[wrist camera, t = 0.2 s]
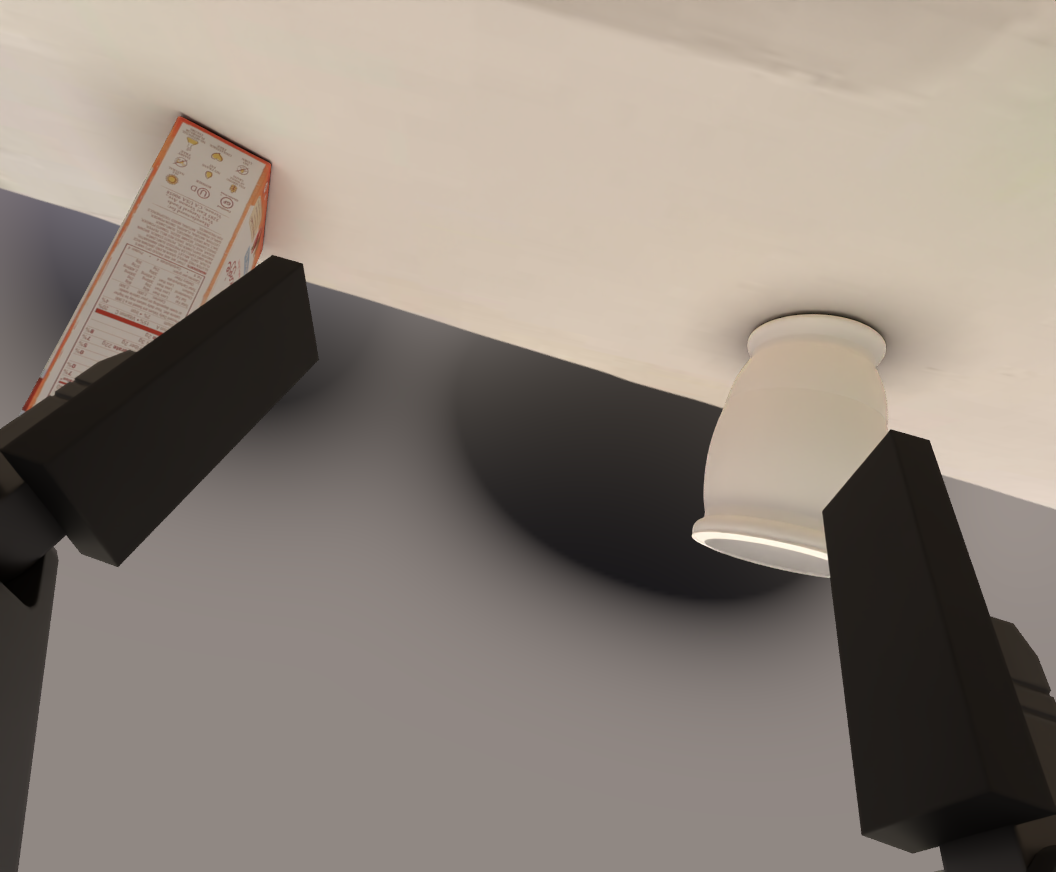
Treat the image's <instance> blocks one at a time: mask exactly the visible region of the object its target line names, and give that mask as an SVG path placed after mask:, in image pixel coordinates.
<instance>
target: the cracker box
mask: <svg viewBox="0 0 1056 872" xmlns="http://www.w3.org/2000/svg"><path fill="white" fill-rule="evenodd" d="M270 172H271V164H270V163H268V162H267V161H265V160H263V159H261V158H259V157H257V156H255V155H253V154H251V153H249V152H247V151H246V150H244V149H242V148H240V147H238V146H236V145H234V144H232V143H231V142H229V141H227V140H225V139H223V138H221V137H219V136H217V135H215V134H213V133H212V132H210V131H208V130H206V129H204V128H202V127H200V126H198V125H197V124H195V123H193V122H191V121H189V120H187V119H185V118H183V117H181V116H179V117H178V118H177V120H176V122H175V124H174V126H173V128H172V130H171V132H170V134H169V136H168V138H167V139H166V141H165V143H164V145H163V147H162V149H161V151H160V153H159V155H158V156H157V158H156V160H155V162H154V164H153V166H152V168H151V169H150V171H149V173H148V175H147V177H146V179H145V181H144V183H143V185H142V187H141V188H140V190H139V192H138V194H137V196H136V198H135V200H134V202H133V204H132V206H131V208H130V209H129V211H128V213H127V215H126V217H125V219H124V221H123V222H122V224H121V226H120V228H119V230H118V232H117V234H116V236H115V237H114V239H113V241H112V243H111V245H110V247H109V249H108V250H107V252H106V254H105V256H104V258H103V260H102V262H101V264H100V265H99V267H98V269H97V271H96V273H95V275H94V277H93V279H92V280H91V282H90V284H89V286H88V288H87V290H86V292H85V294H84V296H83V298H82V300H81V301H80V303H79V305H78V307H77V309H76V311H75V312H74V314H73V316H72V318H71V320H70V322H69V324H68V326H67V327H66V329H65V331H64V333H63V335H62V337H61V338H60V341H59V342H58V344H57V346H56V348H55V350H54V351H53V353H52V355H51V357H50V359H49V361H48V362H47V364H46V366H45V368H44V370H43V372H42V374H41V376H40V378H39V379H38V381H37V383H36V385H35V387H34V389H33V391H32V393H31V395H30V396H29V398H28V400H27V401H26V403H25V405H24V407H23V409H22V411H21V413H20V415H22V414H23V413H24V412H26V411H27V410H29V409H30V408H32V407H33V406H35V405H36V404H38V403H39V402H40V401H42V400H43V399H45V398H46V397H48V396H49V395H51V396H54V395H55V391H56V390H58V389H59V388H61V387H62V386H64V385H65V384H67V383H68V382H74V380H75V377H77V376H78V375H80V374H81V373H83V372H84V371H86V370H87V369H89V368H90V367H91V366H93V365H94V364H96V363H97V362H99V361H101V360H104V359H106V358H109V357H112V356H114V355H117V354H119V353H122V352H125V351H127V350H131V351H135V352H137V351H139V350H140V349H142V348H143V347H144V346H146V345H147V344H149V343H150V342H151V341H153V340H154V339H156V338H157V337H158V336H160V335H161V334H163V333H164V332H165V331H167V330H168V329H170V328H171V327H172V326H174V325H175V324H177V323H178V322H179V321H181V320H182V319H184V318H185V317H186V316H188V315H189V314H191V313H192V312H193V311H195V310H196V309H198V308H199V307H200V306H202V305H203V304H205V303H206V302H207V301H209V300H210V299H212V298H213V297H214V296H216V295H217V294H219V293H220V292H221V291H223V290H224V289H226V288H227V287H228V286H230V285H231V284H233V283H234V282H235V281H237V280H238V279H240V278H241V277H242V276H244V275H245V274H247V273H248V272H249V271H251V270H252V269H254V268H255V265H256V263H257V261H258V259H259V256H260V254H261V252H262V246H263V237H264V227H265V218H266V209H267V199H268V190H269V181H270ZM20 415H19V416H20Z"/></svg>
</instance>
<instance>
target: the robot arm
mask: <svg viewBox="0 0 1056 872" xmlns="http://www.w3.org/2000/svg"><path fill="white" fill-rule="evenodd" d="M318 360H319V359H318V352H317V346H316V340H315V334H314V328H313V322H312V316H311V310H310V304H309V298H308V293H307V286H306V280H305V274H304V268H303V264H302V263H299V262H295V261H292V260H288V259H285V258H281V257H277V256H274V255H272V256H270V257H269V258H268V259H266V260H265V261H263V262H262V263H261V264H259V265H258V266H256V267H255V268H254V269H252V270H251V271H249V272H248V273H247V274H245V275H244V276H242V277H241V278H240V279H238V280H237V281H235V282H234V283H233V284H231V285H230V286H228V287H227V288H226V289H224V290H223V291H221V292H220V293H219V294H217V295H216V296H214V297H213V298H212V299H210V300H209V301H207V302H206V303H205V304H203V305H202V306H200V307H199V308H198V309H196V310H195V311H193V312H192V313H191V314H189V315H188V316H186V317H185V318H184V319H182V320H181V321H179V322H178V323H177V324H175V325H174V326H172V327H171V328H170V329H168V330H167V331H165V332H164V333H163V334H161V335H160V336H158V337H157V338H156V339H154V340H153V341H151V342H150V343H149V344H147V345H146V346H144V347H143V348H142V349H140V350H139V351H137V352H135V351H131V350H127V351H125V352H122V353H119V354H117V355H114V356H112V357H109V358H106V359H104V360H101V361H99V362H97V363H96V364H94V365H93V366H91V367H90V368H89V369H87V370H86V371H84V372H83V373H81V374H80V375H78V376H77V377H75V380H74V382H68V383H67V384H65V385H64V386H62V387H61V388H59V389H58V390H56V391H55V395H54V396H51V395H49V396H48V397H46V398H45V399H43V400H42V401H40V402H39V403H38V404H36V405H35V406H33V407H32V408H30V409H29V410H27V411H26V412H24V413H23V414H22V415H20V416H19V417H17V418H16V419H14V420H13V421H11V422H10V423H9V424H7V425H6V426H4V427H3V428H1V429H0V872H18V865H19V858H20V849H21V842H22V834H23V827H24V820H25V812H26V804H27V796H28V789H29V781H30V774H31V766H32V758H33V750H34V743H35V736H36V727H37V720H38V713H39V705H40V697H41V689H42V682H43V674H44V667H45V659H46V651H47V643H48V636H49V629H50V621H51V613H52V606H53V598H54V590H55V583H56V575H57V567H58V556H57V551H56V549H55V548H54V547H53V546H54V545H56V544H57V543H58V542H59V541H60V540H61V539H62V538H63V537H64V536H65V535H67V536H68V538H69V539H70V540H71V542H72V543H73V544H74V545H75V547H76V548H77V549H78V550H79V552H80V553H81V554H83V555H86V556H89V557H92V558H94V559H97V560H100V561H103V562H105V563H108V564H111V565H114V566H116V567H118V566H120V564H121V563H122V562H123V561H124V560H125V559H126V558H127V557H128V556H129V555H130V554H131V553H132V552H133V551H134V550H135V549H136V548H137V547H138V546H139V545H140V544H141V543H142V542H143V541H144V540H145V538H147V537H148V535H150V533H151V532H152V531H153V530H154V529H155V528H156V527H157V526H158V525H159V524H160V523H161V522H162V521H163V520H164V519H165V518H166V517H167V516H168V515H169V514H170V513H171V512H172V511H173V510H174V509H175V508H176V507H177V506H178V505H179V504H180V503H181V502H182V500H183V499H184V498H185V497H186V496H187V495H188V494H189V493H190V492H191V491H192V490H193V489H194V488H195V487H196V486H197V485H198V484H199V483H200V482H201V481H202V479H204V478H205V477H206V476H207V475H208V474H209V473H210V471H212V469H213V468H214V467H215V466H216V465H217V464H218V463H219V462H220V461H221V460H222V459H223V458H224V457H225V456H226V455H227V454H228V453H229V452H230V451H231V450H232V449H233V448H234V447H235V446H236V445H237V444H238V443H239V442H240V440H241V439H242V438H243V437H244V436H245V435H246V434H247V433H248V432H249V431H250V430H251V429H252V428H253V427H254V426H255V425H256V424H257V423H258V422H259V421H260V420H261V419H262V418H263V417H264V416H265V415H266V414H267V413H268V412H269V411H270V409H272V407H273V406H274V405H275V404H276V403H277V402H278V401H279V400H280V399H281V398H282V397H283V396H284V395H285V394H286V393H287V392H288V391H289V390H290V389H291V388H292V387H293V386H294V385H295V384H296V383H297V382H298V381H299V380H300V378H302V376H303V375H304V374H305V373H306V372H307V371H308V370H309V369H310V368H311V367H312V366H313V365H314V364H315V363H316V362H317V361H318ZM822 515H823V523H824V532H825V540H826V548H827V556H828V564H829V572H830V580H831V588H832V597H833V605H834V613H835V621H836V629H837V638H838V646H839V654H840V661H841V670H842V678H843V686H844V694H845V703H846V711H847V718H848V727H849V735H850V744H851V752H852V760H853V768H854V776H855V784H856V792H857V801H858V808H859V817H860V825H861V834H862V835H863V836H866V837H869V838H871V839H874V840H877V841H880V842H882V843H885V844H888V845H891V846H893V847H896V848H899V849H902V850H905V851H907V852H910V853H916V852H920V851H923V850H927V849H931V848H934V847H938V846H939V847H940V852H941V856H942V861H943V866H944V870H941V871H936V872H1056V702H1055V700H1054V697H1051V696H1050V695H1049V693H1050V691H1051V690H1050V687H1049V684H1048V682H1047V679H1046V677H1045V674H1044V672H1043V669H1042V666H1041V664H1040V661H1039V659H1038V656H1037V655H1036V654H1035V652H1034V651H1033V650H1032V648H1031V647H1030V646H1029V644H1028V643H1027V641H1026V640H1025V639H1024V637H1023V636H1022V635H1021V633H1020V632H1019V631H1018V629H1017V628H1016V627H1015V625H1014V624H1013V623H1010V622H1006V621H1003V620H1000V619H997V618H993V617H990V615H989V612H988V609H987V606H986V603H985V600H984V597H983V594H982V592H981V589H980V586H979V583H978V580H977V577H976V574H975V571H974V568H973V565H972V562H971V560H970V557H969V554H968V551H967V548H966V545H965V542H964V539H963V536H962V533H961V530H960V528H959V525H958V522H957V519H956V516H955V513H954V510H953V507H952V504H951V502H950V498H949V495H948V493H947V490H946V487H945V484H944V481H943V478H942V475H941V472H940V469H939V466H938V463H937V461H936V458H935V455H934V452H933V449H932V446H931V443H930V440H927V439H923V438H920V437H916V436H912V435H909V434H905V433H902V432H898V431H895V430H890V431H889V432H888V433H887V434H886V436H885V437H884V438H883V439H882V440H881V441H880V443H879V444H878V445H877V446H876V447H875V449H874V450H873V451H872V452H871V453H870V455H869V456H868V457H867V458H866V459H865V461H864V462H863V463H862V464H861V465H860V467H859V468H858V469H857V470H856V471H855V472H854V474H853V475H852V476H851V477H850V478H849V480H848V481H847V482H846V483H845V484H844V486H843V487H842V488H841V489H840V490H839V492H838V493H837V494H836V495H835V496H834V498H833V499H832V500H831V501H830V502H829V503H828V505H827V506H826V507H825V508H824V509H823V511H822Z"/></svg>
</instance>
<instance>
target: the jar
mask: <svg viewBox="0 0 1056 872" xmlns="http://www.w3.org/2000/svg"><path fill="white" fill-rule="evenodd" d="M747 348H748V353H749V355H750V357H751V359H750V360H749V361H748V362H747V363H746V364H745V366H744V367H743V368H742V370H741V371H740V373H739V374H738V376H737V378H736V379H735V381H734V383H733V385H732V388H731V390H730V392H729V395H728V398H727V400H726V404H725V406H724V408H723V411H722V413H721V415H720V417H719V420H718V423H717V425H716V428H715V430H714V433H713V436H712V440H711V443H710V447H709V451H708V456H707V462H706V469H705V479H704V506H705V515H704V518H702V519H700V520H698V521H697V522H696V523H695V524H694V526H693V535H692V537H693V538H694V539H695V540H696V541H698V542H699V543H701V544H703V545H705V546H707V547H710V548H712V549H714V550H716V551H719V552H722V553H725V554H728V555H730V556H733V557H736V558H740V559H743V560H746V561H749V562H753V563H757V564H760V565H765V566H768V567H773V568H777V569H781V570H786V571H791V572H796V573H801V574H807V575H813V576H819V577H826V578H830V572H829V564H828V556H827V548H826V540H825V532H824V523H823V515H822V511H823V509H824V508H825V507H826V506H827V505H828V503H829V502H830V501H831V500H832V499H833V498H834V496H835V495H836V494H837V493H838V492H839V490H840V489H841V488H842V487H843V486H844V484H845V483H846V482H847V481H848V480H849V478H850V477H851V476H852V475H853V474H854V472H855V471H856V470H857V469H858V468H859V467H860V465H861V464H862V463H863V462H864V461H865V459H866V458H867V457H868V456H869V455H870V453H871V452H872V451H873V450H874V449H875V447H876V446H877V445H878V444H879V443H880V441H881V440H882V439H883V438H884V437H885V436H886V434H887V433H888V428H887V424H888V409H887V400H886V394H885V390H884V386H883V383H882V380H881V378H880V376H879V373H878V371H877V369H876V367H877V366H878V365H879V363H880V362H881V361H882V359H883V358H884V356H885V353H886V344H885V341H884V339H883V338H882V336H881V335H880V334H879V333H878V332H877V331H875V330H874V329H872V328H871V327H869V326H867V325H865V324H863V323H860V322H858V321H855V320H851V319H848V318H844V317H838V316H832V315H820V314H804V315H794V316H787V317H783V318H778V319H775V320H772V321H769V322H767V323H765V324H763V325H761V326H759V327H758V328H757V329H755V330H754V331H753V332H752V333H751V335H750V337H749V339H748V342H747Z"/></svg>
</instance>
